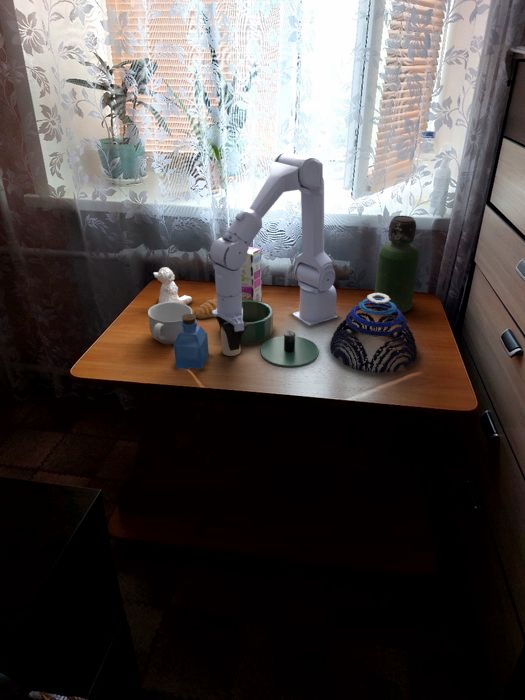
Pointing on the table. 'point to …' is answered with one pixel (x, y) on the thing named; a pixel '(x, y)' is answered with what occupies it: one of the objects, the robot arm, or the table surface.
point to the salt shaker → (225, 346)
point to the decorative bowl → (361, 320)
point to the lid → (289, 350)
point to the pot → (257, 321)
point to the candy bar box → (252, 276)
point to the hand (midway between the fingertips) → (231, 344)
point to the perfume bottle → (191, 344)
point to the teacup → (167, 320)
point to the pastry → (206, 309)
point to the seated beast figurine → (169, 288)
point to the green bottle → (398, 264)
